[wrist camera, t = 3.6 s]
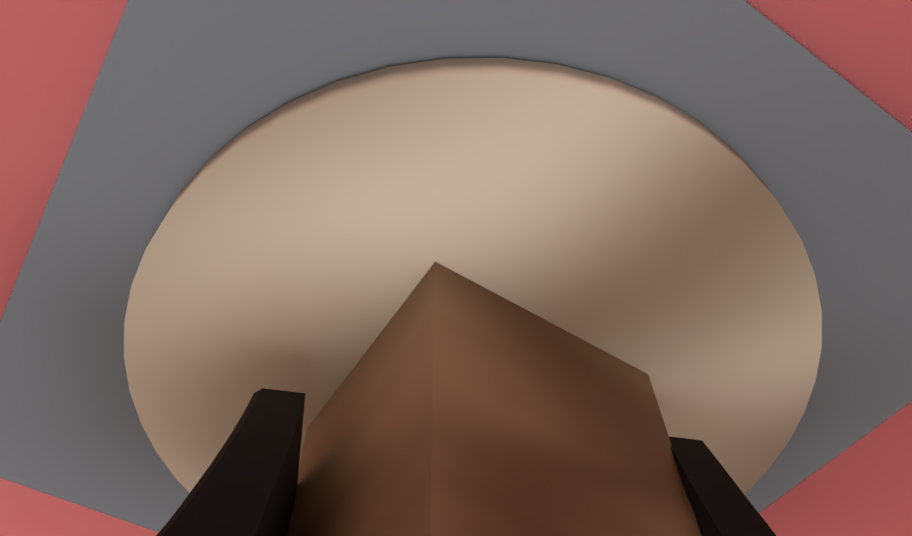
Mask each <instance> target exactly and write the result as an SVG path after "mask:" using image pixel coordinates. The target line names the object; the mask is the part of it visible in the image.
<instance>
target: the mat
mask: <svg viewBox="0 0 912 536" xmlns="http://www.w3.org/2000/svg"><path fill="white" fill-rule="evenodd" d="M448 58H508V59H516V60H525V61H534V62H542V63H551V64H558V65H562V66H566V67H570V68H574V69H578V70H582V71H586V72H590V73H594V74H598V75H602V76H605V77H609V78H612V79H614V80H617V81H619V82H622V83H624V84H627V85H629V86H632V87H634V88H637V89H639V90H641V91H644V92H646V93H649V94H651V95H654V96H656V97H658V98H660V99H662V100H663V101H665V102H667V103H669V104H670V105H672V106H674V107H675V108H677V109H679V110H681V111H682V112H684V113H686V114H687V115H689V116H691V117H692V118H694V119H696V120H698V121H699V122H701V123H702V124H703V125H704V126H706V127H707V128H708V129H709V130H711V131H712V132H713V133H714V134H715V135H717V136H718V137H719V138H720V139H722V140H723V141H724V142H725V143H726V144H728V145H729V146H730V147H731V148H733V149H734V150H735V151H736V152H737V153H738V154H739V155H740V157H741V158H742V159H743V160H744V161H745V162H746V163H747V164H748V166H749V167H750V168H751V169H752V170H753V171H754V172H755V173H756V175H757V176H758V177H759V178H760V179H761V180H762V181H763V183H764V184H765V185H766V186H767V188H768V189H769V190H770V192H771V193H772V194H773V196H774V197H775V198H776V200H777V201H778V202H779V204H780V205H781V207H782V209H783V210H784V212H785V214H786V215H787V217H788V218H789V220H790V222H791V223H792V225H793V227H794V228H795V230H796V231H797V233H798V235H799V236H800V238H801V240H802V242H803V245H804V248H805V250H806V253H807V255H808V258H809V261H810V263H811V266H812V268H813V271H814V273H815V277H816V282H817V288H818V293H819V299H820V304H821V309H822V348H821V354H820V360H819V365H818V371H817V376H816V381H815V384H814V387H813V390H812V392H811V395H810V398H809V401H808V404H807V406H806V409H805V412H804V414H803V416H802V418H801V420H800V422H799V423H798V425H797V427H796V429H795V431H794V433H793V435H792V436H791V438H790V440H789V442H788V443H787V445H786V446H785V448H784V449H783V450H782V452H781V453H780V454H779V456H778V457H777V458H776V460H775V461H774V463H773V464H772V465H771V467H770V468H769V469H768V471H767V472H766V473H765V474H764V475H763V476H762V477H761V478H760V479H759V480H758V481H757V482H756V483H755V484H754V485H753V486H752V487H751V489H750V490H749V491H748V492H747V493H746V494H745V496H746V497H747V499H748V500H749V501H750V503H751V504H752V505H753V507H754V508H755V509H756V510H757V512H758V513H759V512H761V511H762V510H764V509H765V508H766V507H768V506H769V505H770V504H772V503H773V502H775V501H776V500H777V499H779V498H780V497H781V496H783V495H784V494H785V493H787V492H788V491H790V490H791V489H792V488H794V487H795V486H796V485H798V484H799V483H800V482H802V481H803V480H805V479H806V478H807V477H809V476H810V475H811V474H813V473H814V472H815V471H817V470H818V469H820V468H821V467H822V466H824V465H825V464H826V463H828V462H829V461H831V460H832V459H833V458H835V457H836V456H837V455H839V454H840V453H841V452H843V451H844V450H846V449H847V448H848V447H850V446H851V445H852V444H854V443H855V442H856V441H858V440H859V439H861V438H862V437H863V436H865V435H866V434H867V433H869V432H870V431H872V430H873V429H874V428H876V427H877V426H878V425H880V424H881V423H882V422H884V421H885V420H887V419H888V418H889V417H891V416H892V415H893V414H895V413H896V412H897V411H899V410H900V409H902V408H903V407H904V406H906V405H907V404H908V403H910V402H911V401H912V132H911V131H910V130H909V129H907V128H906V127H905V126H904V125H902V124H901V123H900V122H898V121H897V120H896V119H895V118H893V117H892V116H891V115H890V114H888V113H887V112H886V111H884V110H883V109H882V108H881V107H879V106H878V105H877V104H876V103H874V102H873V101H872V100H871V99H869V98H868V97H867V96H865V95H864V94H863V93H862V92H860V91H859V90H858V89H857V88H855V87H854V86H853V85H851V84H850V83H849V82H848V81H846V80H845V79H844V78H843V77H841V76H840V75H839V74H837V73H836V72H835V71H834V70H832V69H831V68H830V67H829V66H827V65H826V64H825V63H823V62H822V61H821V60H820V59H818V58H817V57H816V56H815V55H813V54H812V53H811V52H809V51H808V50H807V49H806V48H804V47H803V46H802V45H801V44H799V43H798V42H797V41H795V40H794V39H793V38H792V37H790V36H789V35H788V34H787V33H785V32H784V31H783V30H781V29H780V28H779V27H778V26H776V25H775V24H774V23H773V22H771V21H770V20H769V19H768V18H766V17H765V16H764V15H762V14H761V13H760V12H759V11H757V10H756V9H755V8H754V7H752V6H751V5H750V4H748V3H747V2H746V1H745V0H128V2H127V5H126V7H125V10H124V12H123V15H122V17H121V20H120V22H119V25H118V27H117V30H116V32H115V35H114V37H113V40H112V42H111V45H110V47H109V50H108V53H107V55H106V58H105V60H104V63H103V65H102V68H101V70H100V73H99V75H98V78H97V80H96V83H95V85H94V88H93V90H92V93H91V95H90V98H89V100H88V103H87V105H86V108H85V110H84V113H83V115H82V118H81V120H80V123H79V125H78V128H77V130H76V133H75V135H74V138H73V140H72V143H71V145H70V148H69V150H68V153H67V155H66V158H65V160H64V163H63V165H62V168H61V170H60V173H59V175H58V178H57V181H56V183H55V186H54V188H53V191H52V193H51V196H50V198H49V201H48V203H47V206H46V208H45V211H44V213H43V216H42V218H41V221H40V223H39V226H38V228H37V231H36V233H35V236H34V238H33V241H32V243H31V246H30V248H29V251H28V253H27V256H26V258H25V261H24V263H23V266H22V268H21V271H20V273H19V276H18V278H17V281H16V283H15V286H14V288H13V291H12V293H11V296H10V298H9V301H8V303H7V306H6V309H5V311H4V314H3V316H2V319H1V321H0V478H3V479H6V480H9V481H12V482H14V483H17V484H20V485H23V486H26V487H29V488H32V489H35V490H38V491H41V492H43V493H46V494H49V495H52V496H55V497H58V498H61V499H64V500H67V501H70V502H72V503H75V504H78V505H81V506H84V507H87V508H90V509H93V510H96V511H99V512H101V513H104V514H107V515H110V516H113V517H116V518H119V519H122V520H125V521H128V522H130V523H133V524H136V525H139V526H142V527H145V528H148V529H151V530H154V531H157V532H160V531H161V529H162V528H163V527H164V526H165V525H166V523H167V522H168V521H169V520H170V518H171V517H172V516H173V515H174V513H175V512H176V511H177V509H178V508H179V507H180V505H181V504H182V503H183V501H184V500H185V499H186V497H187V496H188V495H189V492H188V491H187V490H186V489H185V488H184V487H183V486H182V485H181V483H180V482H179V481H178V480H177V479H176V478H175V477H174V475H173V474H172V473H171V471H170V470H169V469H168V467H167V466H166V464H165V463H164V462H163V460H162V459H161V458H160V456H159V455H158V454H157V452H156V450H155V449H154V447H153V445H152V443H151V441H150V439H149V437H148V436H147V434H146V432H145V430H144V428H143V426H142V425H141V422H140V420H139V417H138V414H137V411H136V408H135V405H134V402H133V400H132V397H131V394H130V391H129V385H128V379H127V373H126V367H125V362H124V320H125V315H126V310H127V305H128V300H129V295H130V289H131V285H132V282H133V280H134V277H135V275H136V272H137V270H138V267H139V265H140V262H141V260H142V257H143V254H144V252H145V249H146V248H147V246H148V244H149V243H150V241H151V239H152V238H153V236H154V234H155V233H156V231H157V229H158V228H159V226H160V224H161V223H162V221H163V220H164V218H165V216H166V215H167V213H168V212H169V210H170V208H171V207H172V205H173V203H174V202H175V200H176V199H177V197H178V195H179V194H180V192H181V191H182V190H183V188H184V187H185V186H186V185H187V184H188V183H189V182H190V180H191V179H192V178H193V177H194V176H195V175H196V174H197V172H198V171H199V170H200V169H201V168H202V167H203V166H204V164H205V163H206V162H207V161H208V160H209V159H210V158H211V157H212V156H213V155H214V154H216V153H217V152H218V151H219V150H220V149H222V148H223V147H224V146H225V145H226V144H228V143H229V142H230V141H231V140H232V139H234V138H235V137H236V136H237V135H238V134H240V133H241V132H242V131H243V130H244V129H246V128H247V127H249V126H250V125H252V124H254V123H255V122H257V121H259V120H260V119H262V118H263V117H265V116H267V115H268V114H270V113H272V112H273V111H275V110H277V109H278V108H280V107H282V106H283V105H285V104H286V103H288V102H290V101H292V100H295V99H297V98H299V97H302V96H304V95H306V94H309V93H311V92H313V91H316V90H318V89H320V88H323V87H325V86H327V85H330V84H332V83H334V82H337V81H340V80H343V79H347V78H351V77H354V76H358V75H361V74H365V73H368V72H372V71H376V70H379V69H383V68H386V67H390V66H397V65H404V64H411V63H418V62H425V61H432V60H439V59H448Z"/></svg>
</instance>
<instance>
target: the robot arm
mask: <svg viewBox="0 0 912 536" xmlns="http://www.w3.org/2000/svg"><path fill="white" fill-rule="evenodd" d="M304 404H305V393H299V392H290V391H282V390H273V389H265V388H262V389H260V390H258V391H257V392H255V393H254V394H253V396H252V398H251V400H250V402H249V404H248V406H247V407H246V409H245V411H244V413H243V414H242V416H241V418H240V420H239V421H238V423H237V425H236V426H235V428H234V430H233V431H232V433H231V434H230V436H229V437H228V439H227V441H226V442H225V444H224V445H223V447H222V448H221V450H220V451H219V453H218V454H217V456H216V457H215V459H214V460H213V462H212V463H211V464H210V466H209V467H208V469H207V470H206V471H205V473H204V474H203V475H202V477H201V478H200V480H199V481H198V482H197V484H196V485H195V486H194V488H193V489H192V490H191V492H190V493H189V495H188V496H187V497H186V499H185V500H184V501H183V503H182V504H181V505H180V507H179V508H178V509H177V511H176V512H175V513H174V515H173V516H172V517H171V518H170V520H169V521H168V522H167V523H166V525H165V526H164V527H163V528H162V529H161V531H160V532H159V533H158V534H157V535H156V536H287V534H288V529H289V524H290V519H291V514H292V509H293V504H294V499H295V494H296V489H297V483H298V472H299V460H300V449H301V438H302V426H303V415H304ZM669 439H670V442H671V445H672V446H671V450H672V453H673V456H674V459H675V462H676V465H677V468H678V471H679V475H680V478H681V481H682V484H683V487H684V489H685V492H686V494H687V497H688V499H689V502H690V504H691V507H692V509H693V512H694V515H695V518H696V521H697V524H698V527H699V530H700V533H701V536H776V535H775V533H774V532H773V531H772V530H771V528H770V527H769V526H768V525H767V523H766V522H765V521H764V519H763V518H762V517H761V516H760V514H759V513H758V512H757V510H756V509H755V508H754V507H753V505H752V504H751V503H750V501H749V500H748V499H747V497H746V496H745V495H744V494H743V492H742V491H741V490H740V488H739V487H738V486H737V484H736V483H735V482H734V481H733V479H732V478H731V477H730V475H729V474H728V473H727V471H726V470H725V469H724V468H723V466H722V465H721V464H720V462H719V461H718V460H717V458H716V457H715V456H714V455H713V453H712V452H711V451H710V450H709V448H708V447H707V446H706V445H705V443H704V442H703V441H702V440H695V439H687V438H678V437H670V436H669Z"/></svg>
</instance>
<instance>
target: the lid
mask: <svg viewBox="0 0 912 536" xmlns="http://www.w3.org/2000/svg"><path fill="white" fill-rule="evenodd" d="M821 348H822V309H821V304H820V299H819V293H818V288H817V282H816V277H815V273H814V271H813V268H812V266H811V263H810V261H809V258H808V255H807V253H806V250H805V248H804V245H803V242H802V240H801V238H800V236H799V235H798V233H797V231H796V230H795V228H794V227H793V225H792V223H791V222H790V220H789V218H788V217H787V215H786V214H785V212H784V210H783V209H782V207H781V205H780V204H779V202H778V201H777V200H776V198H775V197H774V196H773V194H772V193H771V192H770V190H769V189H768V188H767V186H766V185H765V184H764V183H763V181H762V180H761V179H760V178H759V177H758V176H757V175H756V173H755V172H754V171H753V170H752V169H751V168H750V167H749V166H748V164H747V163H746V162H745V161H744V160H743V159H742V158H741V157H740V155H739V154H738V153H737V152H736V151H735V150H734V149H733V148H731V147H730V146H729V145H728V144H726V143H725V142H724V141H723V140H722V139H720V138H719V137H718V136H717V135H715V134H714V133H713V132H712V131H711V130H709V129H708V128H707V127H706V126H704V125H703V124H702V123H701V122H699V121H698V120H696V119H694V118H692V117H691V116H689V115H687V114H686V113H684V112H682V111H681V110H679V109H677V108H675V107H674V106H672V105H670V104H669V103H667V102H665V101H663V100H662V99H660V98H658V97H656V96H654V95H651V94H649V93H646V92H644V91H641V90H639V89H637V88H634V87H632V86H629V85H627V84H624V83H622V82H619V81H617V80H614V79H612V78H609V77H605V76H602V75H598V74H594V73H590V72H586V71H582V70H578V69H574V68H570V67H566V66H562V65H558V64H551V63H542V62H534V61H525V60H516V59H508V58H448V59H439V60H432V61H425V62H418V63H411V64H404V65H397V66H390V67H386V68H383V69H379V70H376V71H372V72H368V73H365V74H361V75H358V76H354V77H351V78H347V79H343V80H340V81H337V82H334V83H332V84H330V85H327V86H325V87H323V88H320V89H318V90H316V91H313V92H311V93H309V94H306V95H304V96H302V97H299V98H297V99H295V100H292V101H290V102H288V103H286V104H285V105H283V106H282V107H280V108H278V109H277V110H275V111H273V112H272V113H270V114H268V115H267V116H265V117H263V118H262V119H260V120H259V121H257V122H255V123H254V124H252V125H250V126H249V127H247V128H246V129H244V130H243V131H242V132H241V133H240V134H238V135H237V136H236V137H235V138H234V139H232V140H231V141H230V142H229V143H228V144H226V145H225V146H224V147H223V148H222V149H220V150H219V151H218V152H217V153H216V154H214V155H213V156H212V157H211V158H210V159H209V160H208V161H207V162H206V163H205V164H204V166H203V167H202V168H201V169H200V170H199V171H198V172H197V174H196V175H195V176H194V177H193V178H192V179H191V180H190V182H189V183H188V184H187V185H186V186H185V187H184V188H183V190H182V191H181V192H180V194H179V195H178V197H177V199H176V200H175V202H174V203H173V205H172V207H171V208H170V210H169V212H168V213H167V215H166V216H165V218H164V220H163V221H162V223H161V224H160V226H159V228H158V229H157V231H156V233H155V234H154V236H153V238H152V239H151V241H150V243H149V244H148V246H147V248H146V249H145V252H144V254H143V257H142V260H141V262H140V265H139V267H138V270H137V272H136V275H135V277H134V280H133V282H132V285H131V289H130V295H129V300H128V305H127V310H126V315H125V320H124V362H125V367H126V373H127V379H128V385H129V391H130V394H131V397H132V400H133V402H134V405H135V408H136V411H137V414H138V417H139V420H140V422H141V425H142V426H143V428H144V430H145V432H146V434H147V436H148V437H149V439H150V441H151V443H152V445H153V447H154V449H155V450H156V452H157V454H158V455H159V456H160V458H161V459H162V460H163V462H164V463H165V464H166V466H167V467H168V469H169V470H170V471H171V473H172V474H173V475H174V477H175V478H176V479H177V480H178V481H179V482H180V483H181V485H182V486H183V487H184V488H185V489H186V490H187V491H188V492H189V493H190V492H191V490H192V489H193V488H194V486H195V485H196V484H197V482H198V481H199V480H200V478H201V477H202V475H203V474H204V473H205V471H206V470H207V469H208V467H209V466H210V464H211V463H212V462H213V460H214V459H215V457H216V456H217V454H218V453H219V451H220V450H221V448H222V447H223V445H224V444H225V442H226V441H227V439H228V437H229V436H230V434H231V433H232V431H233V430H234V428H235V426H236V425H237V423H238V421H239V420H240V418H241V416H242V414H243V413H244V411H245V409H246V407H247V406H248V404H249V402H250V400H251V398H252V396H253V394H254V393H255V392H257V391H258V390H260V389H262V388H265V389H273V390H282V391H290V392H299V393H305V404H304V415H303V426H302V438H301V449H300V460H299V472H298V483H297V489H296V494H295V499H294V504H293V509H292V514H291V519H290V524H289V529H288V534H287V536H701V533H700V530H699V527H698V524H697V521H696V518H695V515H694V512H693V509H692V507H691V504H690V502H689V499H688V497H687V494H686V492H685V489H684V487H683V484H682V481H681V478H680V475H679V471H678V468H677V465H676V462H675V459H674V456H673V453H672V450H671V446H672V445H671V442H670V439H669V436H670V437H678V438H687V439H695V440H702V441H703V442H704V443H705V445H706V446H707V447H708V448H709V450H710V451H711V452H712V453H713V455H714V456H715V457H716V458H717V460H718V461H719V462H720V464H721V465H722V466H723V468H724V469H725V470H726V471H727V473H728V474H729V475H730V477H731V478H732V479H733V481H734V482H735V483H736V484H737V486H738V487H739V488H740V490H741V491H742V492H743V494H744V495H745V494H746V493H747V492H748V491H749V490H750V489H751V487H752V486H753V485H754V484H755V483H756V482H757V481H758V480H759V479H760V478H761V477H762V476H763V475H764V474H765V473H766V472H767V471H768V469H769V468H770V467H771V465H772V464H773V463H774V461H775V460H776V458H777V457H778V456H779V454H780V453H781V452H782V450H783V449H784V448H785V446H786V445H787V443H788V442H789V440H790V438H791V436H792V435H793V433H794V431H795V429H796V427H797V425H798V423H799V422H800V420H801V418H802V416H803V414H804V412H805V409H806V406H807V404H808V401H809V398H810V395H811V392H812V390H813V387H814V384H815V381H816V376H817V371H818V365H819V360H820V354H821Z"/></svg>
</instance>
